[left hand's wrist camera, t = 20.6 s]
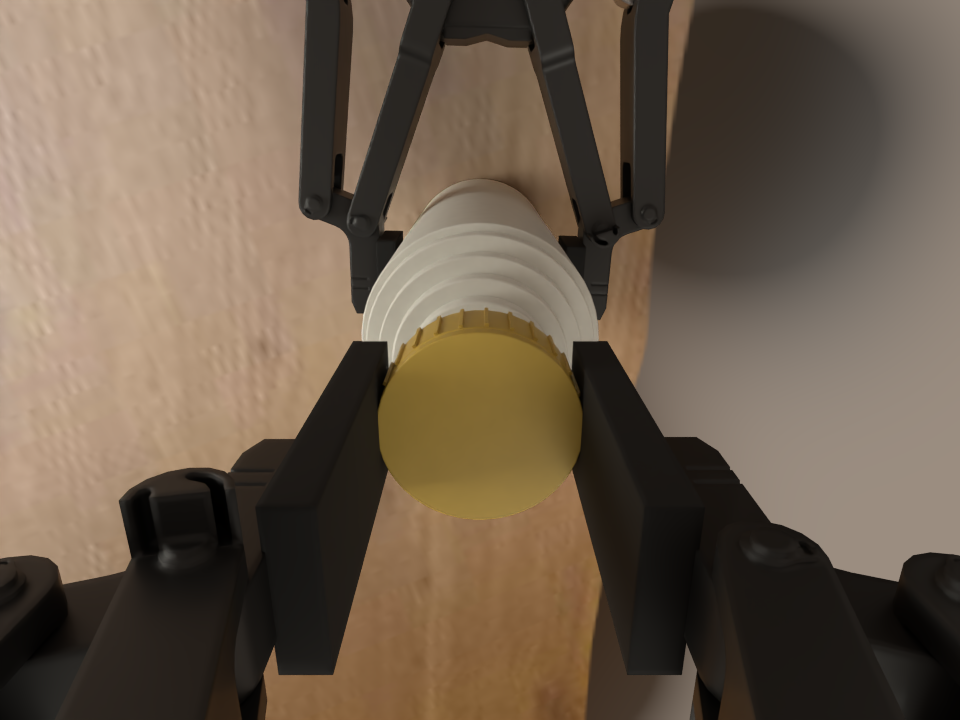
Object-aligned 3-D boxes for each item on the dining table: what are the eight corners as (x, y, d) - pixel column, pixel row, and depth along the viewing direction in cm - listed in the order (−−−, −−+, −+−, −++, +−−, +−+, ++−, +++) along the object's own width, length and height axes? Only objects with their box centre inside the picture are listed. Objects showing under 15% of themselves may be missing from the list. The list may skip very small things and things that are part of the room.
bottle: (570, 220, 32) (705, 358, 13) (505, 331, 34) (537, 596, 15) (452, 153, 31) (407, 194, 12) (392, 272, 33) (269, 475, 14)
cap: (408, 494, 15) (400, 536, 14) (364, 324, 14) (350, 350, 12) (586, 466, 15) (598, 506, 13) (561, 289, 14) (572, 311, 12)
